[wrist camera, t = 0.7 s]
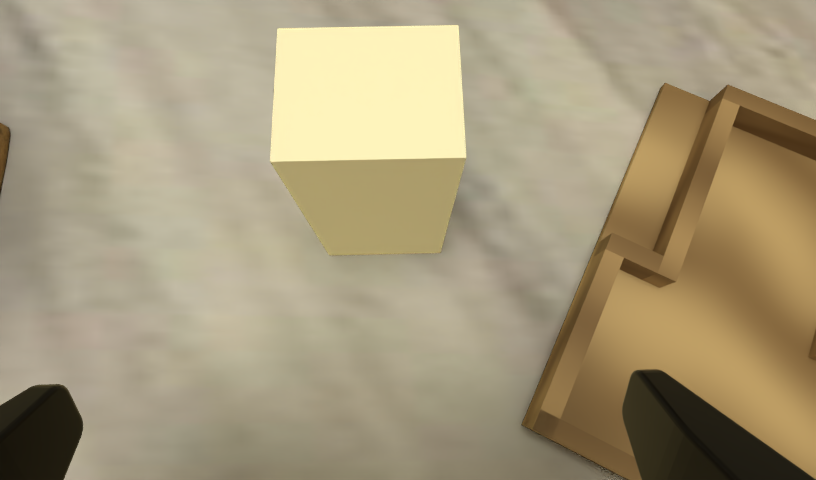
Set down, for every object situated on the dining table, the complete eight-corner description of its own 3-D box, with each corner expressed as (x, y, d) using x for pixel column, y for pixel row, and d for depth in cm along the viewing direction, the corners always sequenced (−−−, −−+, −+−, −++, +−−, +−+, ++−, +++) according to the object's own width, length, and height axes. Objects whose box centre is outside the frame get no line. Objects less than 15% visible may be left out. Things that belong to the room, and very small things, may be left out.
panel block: (440, 253, 22) (466, 157, 13) (329, 255, 22) (270, 161, 13) (437, 170, 23) (458, 25, 14) (330, 173, 23) (277, 28, 14)
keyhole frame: (827, 582, 19) (870, 604, 17) (521, 424, 20) (532, 429, 19) (919, 194, 23) (961, 179, 21) (661, 87, 25) (680, 65, 23)
